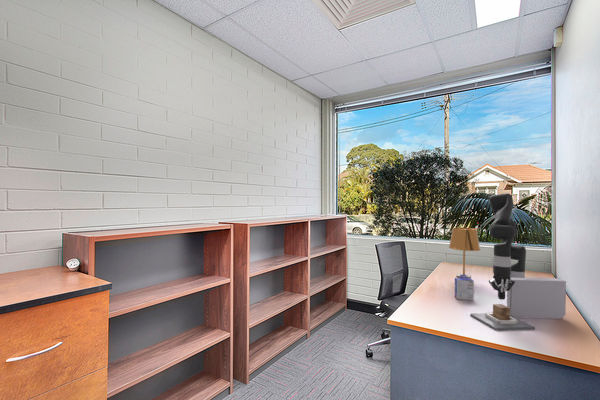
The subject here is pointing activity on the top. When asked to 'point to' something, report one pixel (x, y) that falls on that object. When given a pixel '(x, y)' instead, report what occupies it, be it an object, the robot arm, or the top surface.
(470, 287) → the ink cartridge box
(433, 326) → the top surface
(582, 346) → the top surface
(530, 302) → the game console
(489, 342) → the top surface
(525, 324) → the baseplate
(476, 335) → the top surface
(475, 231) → the lamp
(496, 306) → the walnut block
